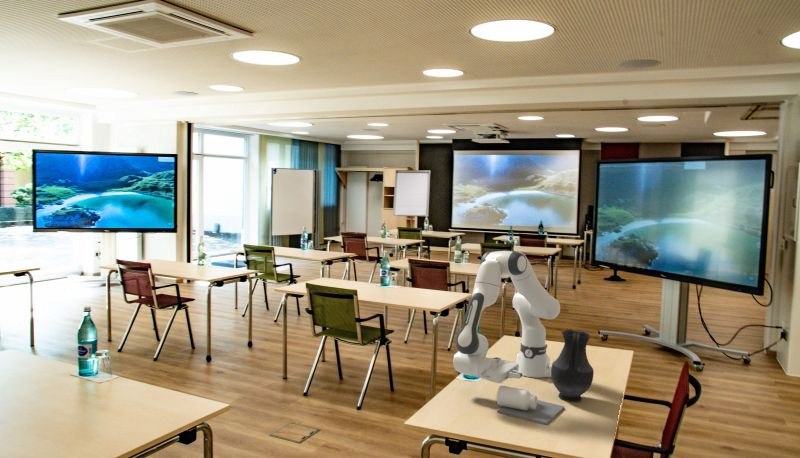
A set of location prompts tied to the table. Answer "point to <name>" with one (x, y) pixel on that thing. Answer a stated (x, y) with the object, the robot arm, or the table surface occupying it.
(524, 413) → the mat
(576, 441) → the table surface
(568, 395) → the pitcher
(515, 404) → the pill bottle
